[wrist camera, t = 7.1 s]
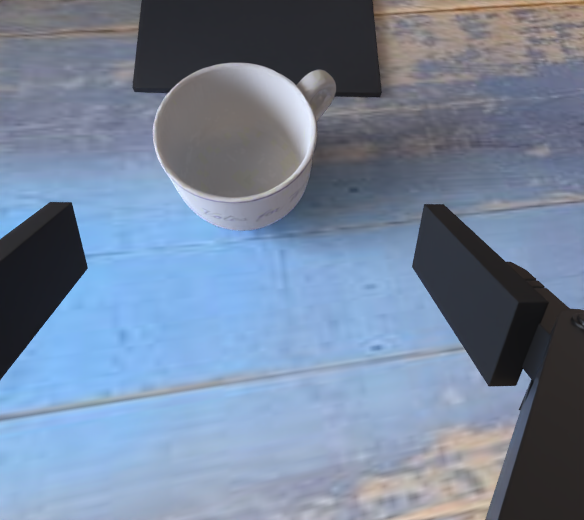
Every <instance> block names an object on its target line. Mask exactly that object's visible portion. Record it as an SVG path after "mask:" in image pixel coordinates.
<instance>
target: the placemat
mask: <svg viewBox="0 0 584 520" xmlns="http://www.w3.org/2000/svg"><path fill="white" fill-rule="evenodd" d="M224 63H250V64H256V65H260V66H264V67H267V68H269V69H272V70H274V71H275V72H277V73H279V74H281V75H283V76H285V77H286V78H288V79H289V80H291V81H292V82H293V83H294V84H295V85H297V84H298V83H299V82H300V81H301V80H302V79H303V78H304V77H305V76H306V75H307V74H309V73H310V72H312V71H315V70H323V71H326V72H327V73H328V74H329V75H330V76H331V77H332V78H333V79H334V81H335V84H336V93H335V96H358V97H380V96H381V93H382V92H381V82H380V72H379V62H378V52H377V42H376V32H375V22H374V12H373V2H372V0H142V4H141V13H140V22H139V32H138V41H137V51H136V60H135V69H134V79H133V89H134V91H135V92H170V90H171V89H172V88H173V87H174V86H175V85H176V84H178V83H179V82H180V81H181V80H182V79H184V78H186V77H187V76H189V75H191V74H192V73H194V72H196V71H198V70H201V69H203V68H207V67H211V66H214V65H218V64H224Z"/></svg>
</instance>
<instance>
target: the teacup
mask: <svg viewBox="0 0 584 520" xmlns="http://www.w3.org/2000/svg"><path fill="white" fill-rule="evenodd" d="M335 93H336V84H335V81H334V79H333V78H332V77H331V76H330V75H329V74H328V73H327V72H326V71H323V70H315V71H312V72H310V73H309V74H307V75H306V76H305V77H304V78H303V79H302V80H301V81H300V82H299V83H298V84H297V85H295V84H294V83H293V82H292V81H291V80H289V79H288V78H286V77H285V76H283V75H281V74H279V73H277V72H275V71H274V70H272V69H269V68H267V67H264V66H260V65H256V64H250V63H224V64H218V65H214V66H211V67H207V68H203V69H201V70H198V71H196V72H194V73H192V74H191V75H189V76H187V77H186V78H184V79H182V80H181V81H180V82H179V83H178V84H176V85H175V86H174V87H173V88H172V89H171V90H170V92H169V93H168V94H167V95H166V97H165V98H164V100H163V101H162V103H161V105H160V106H159V108H158V111H157V114H156V117H155V120H154V125H153V142H154V147H155V150H156V155H157V157H158V159H159V162H160V164H161V165H162V167H163V169H164V170H165V172H166V173H167V175H168V176H169V177H170V179H171V180H172V182H173V184H174V186H175V187H176V189H177V191H178V192H179V194H180V195H181V197H182V198H183V200H184V201H185V203H186V204H187V205H188V206H189V207H190V208H191V209H192V210H193V211H194V212H195V213H196V214H197V215H198V216H199V217H201V218H202V219H204V220H205V221H207V222H209V223H211V224H213V225H215V226H218V227H221V228H225V229H229V230H238V231H246V230H255V229H259V228H263V227H266V226H269V225H271V224H273V223H275V222H277V221H278V220H280V219H282V218H283V217H284V216H286V215H287V214H288V213H289V212H290V211H291V210H292V209H293V208H294V207H295V206H296V205H297V203H298V202H299V200H300V199H301V197H302V195H303V193H304V191H305V189H306V186H307V183H308V180H309V176H310V172H311V166H312V159H313V153H314V150H315V147H316V142H317V120H318V119H319V118H320V117H321V116H322V115H323V113H324V112H325V111H326V110H327V108H328V107H329V106H330V104H331V102H332V100H333V99H334V96H335Z"/></svg>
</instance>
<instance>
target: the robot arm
mask: <svg viewBox="0 0 584 520" xmlns="http://www.w3.org/2000/svg"><path fill="white" fill-rule="evenodd" d="M412 267H413V269H414V270H415V272H416V274H417V275H418V277H419V278H420V280H421V281H422V283H423V285H424V286H425V288H426V289H427V291H428V292H429V294H430V295H431V297H432V299H433V300H434V302H435V303H436V305H437V306H438V308H439V309H440V311H441V313H442V314H443V316H444V317H445V319H446V320H447V322H448V323H449V325H450V327H451V328H452V330H453V331H454V333H455V334H456V336H457V337H458V339H459V341H460V342H461V344H462V345H463V347H464V348H465V350H466V351H467V353H468V355H469V356H470V358H471V359H472V361H473V362H474V364H475V365H476V367H477V369H478V370H479V372H480V373H481V375H482V376H483V378H484V379H485V381H486V383H487V384H488V386H516V385H517V382H518V379H519V377H520V374H521V372H522V369H524V370H525V372H526V373H527V374H528V375H529V377H530V378H531V379H532V380H531V382H530V384H529V387H528V389H527V392H526V394H525V396H524V399H523V401H522V404H521V406H520V408H519V410H521V411H520V414H519V417H518V420H517V423H516V426H515V429H514V432H513V436H512V439H511V442H510V445H509V448H508V451H507V454H506V457H505V460H504V463H503V467H502V470H501V473H500V476H499V479H498V482H497V485H496V488H495V491H494V494H493V498H492V501H491V504H490V507H489V510H488V513H487V516H486V519H485V520H584V310H580V309H569V308H568V307H567V306H566V305H565V304H564V303H563V302H562V301H560V300H559V299H558V298H557V297H556V296H555V295H554V294H553V293H551V292H550V291H549V290H548V289H547V288H544V285H542V284H541V283H540V282H539V281H536V278H534V277H533V276H532V275H531V274H530V273H529V272H528V271H527V270H525V269H523V268H521V267H520V266H518V265H516V264H514V263H512V262H505V261H504V260H503V259H502V258H501V257H500V256H499V255H498V254H497V253H496V252H494V251H493V250H492V249H491V248H490V247H489V246H488V245H487V244H486V243H485V242H484V241H483V240H481V239H480V238H479V237H478V236H477V235H476V234H475V233H474V232H473V231H472V230H471V229H470V228H469V227H467V226H466V225H465V224H464V223H463V222H462V221H461V220H460V219H459V218H458V217H457V216H456V215H455V214H453V213H452V212H451V211H450V210H449V209H448V208H447V207H446V206H445V205H444V204H424V208H423V213H422V218H421V223H420V228H419V234H418V239H417V244H416V249H415V254H414V260H413V265H412ZM87 269H88V267H87V263H86V259H85V255H84V251H83V247H82V243H81V238H80V234H79V230H78V226H77V222H76V218H75V214H74V210H73V206H72V202H50V203H48V204H47V205H46V206H44V207H43V208H42V209H40V210H39V211H38V212H36V213H35V214H34V215H32V216H31V217H30V218H28V219H27V220H26V221H24V222H23V223H21V224H20V225H19V226H17V227H16V228H15V229H13V230H12V231H11V232H9V233H8V234H7V235H5V236H4V237H3V238H1V239H0V380H1V378H2V377H3V376H4V374H5V373H6V372H7V371H8V369H9V368H10V367H11V366H12V364H13V363H14V362H15V360H16V359H17V358H18V357H19V355H20V354H21V353H22V352H23V350H24V349H25V348H26V346H27V345H28V344H29V343H30V341H31V340H32V339H33V337H34V336H35V335H36V334H37V332H38V331H39V330H40V329H41V327H42V326H43V325H44V323H45V322H46V321H47V320H48V318H49V317H50V316H51V315H52V313H53V312H54V311H55V309H56V308H57V307H58V306H59V304H60V303H61V302H62V300H63V299H64V298H65V297H66V295H67V294H68V293H69V292H70V290H71V289H72V288H73V286H74V285H75V284H76V283H77V281H78V280H79V279H80V278H81V276H82V275H83V274H84V272H85V271H86V270H87Z"/></svg>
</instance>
